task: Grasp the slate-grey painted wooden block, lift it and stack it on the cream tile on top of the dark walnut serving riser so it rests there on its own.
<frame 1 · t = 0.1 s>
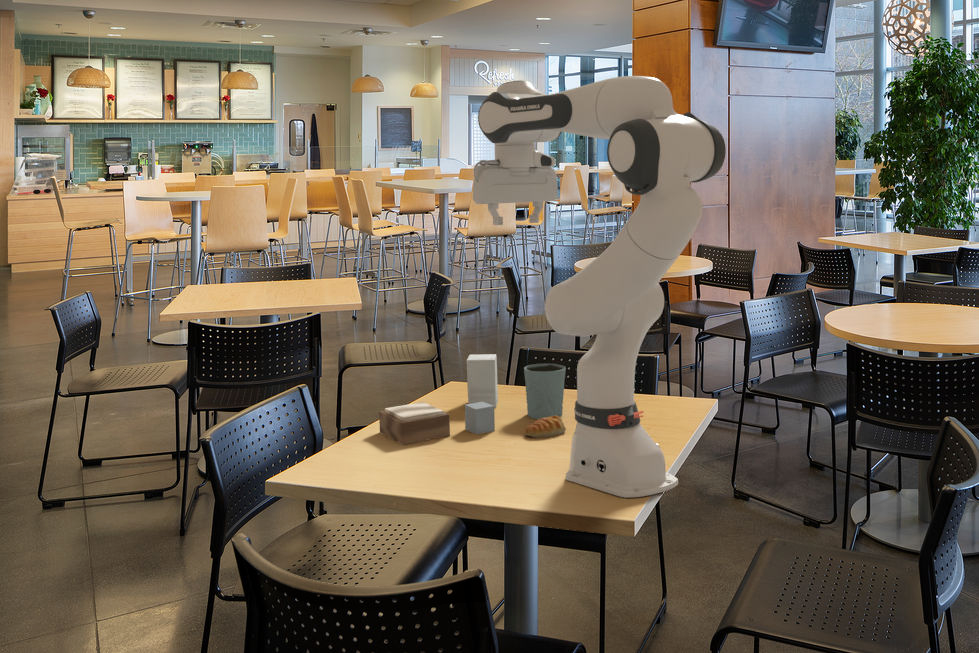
hand: (516, 224, 195), 48 cm above the table, fingers open, 8 cm apart
pastry: (546, 435, 204), on the table
slate block: (479, 430, 208), on the table
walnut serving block: (414, 433, 206), on the table
teal cup: (545, 415, 220), on the table
supplement box: (483, 405, 232), on the table
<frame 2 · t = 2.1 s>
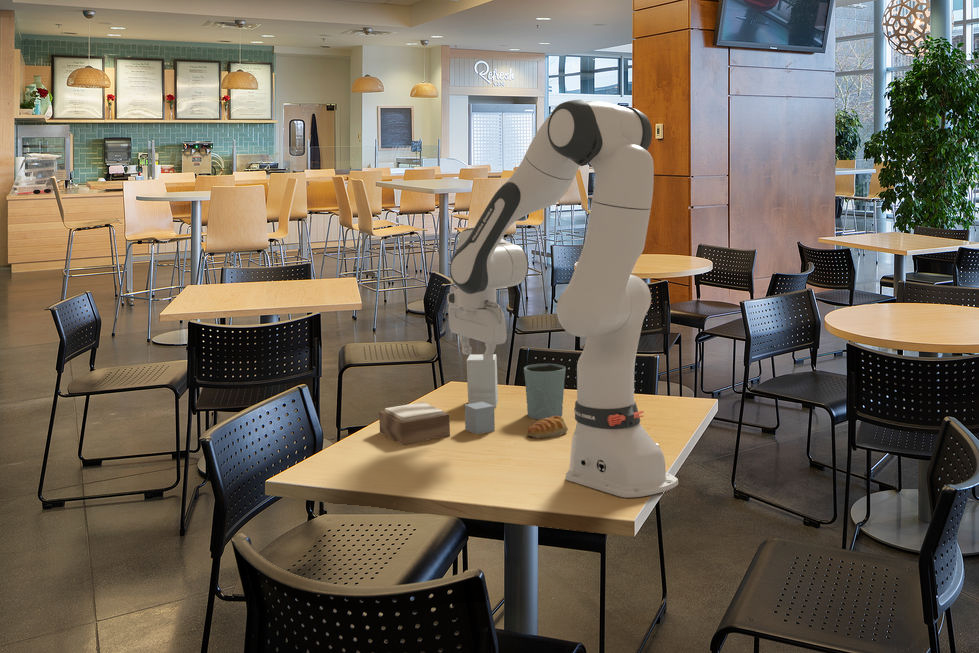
hand: (477, 357, 205), 17 cm above the table, fingers open, 8 cm apart
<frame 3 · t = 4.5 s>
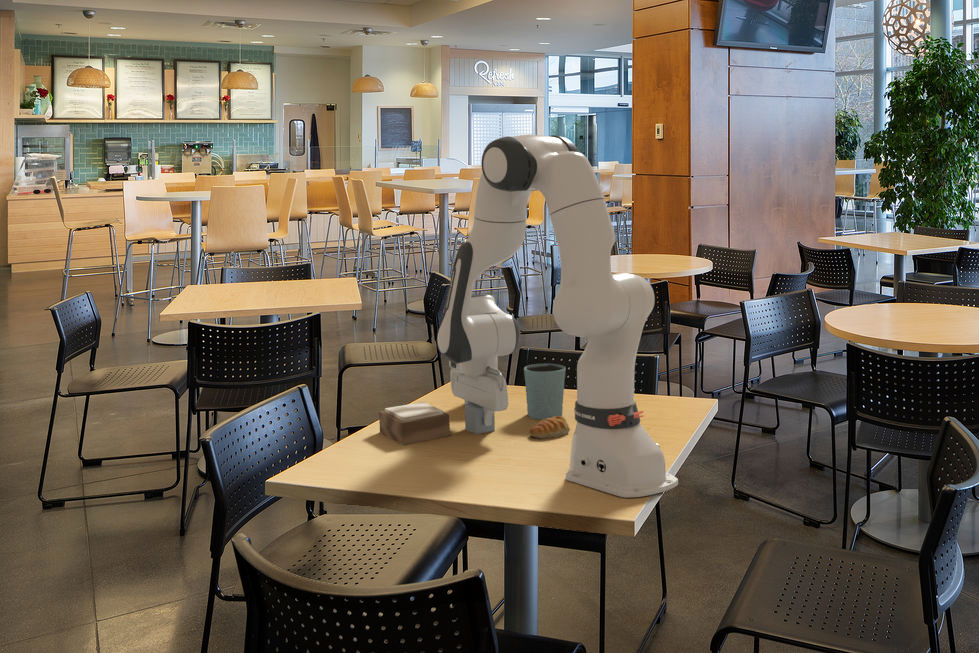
hand: (479, 422, 208), 2 cm above the table, fingers closed on slate block, 5 cm apart
slate block: (480, 430, 208), on the table, touching gripper
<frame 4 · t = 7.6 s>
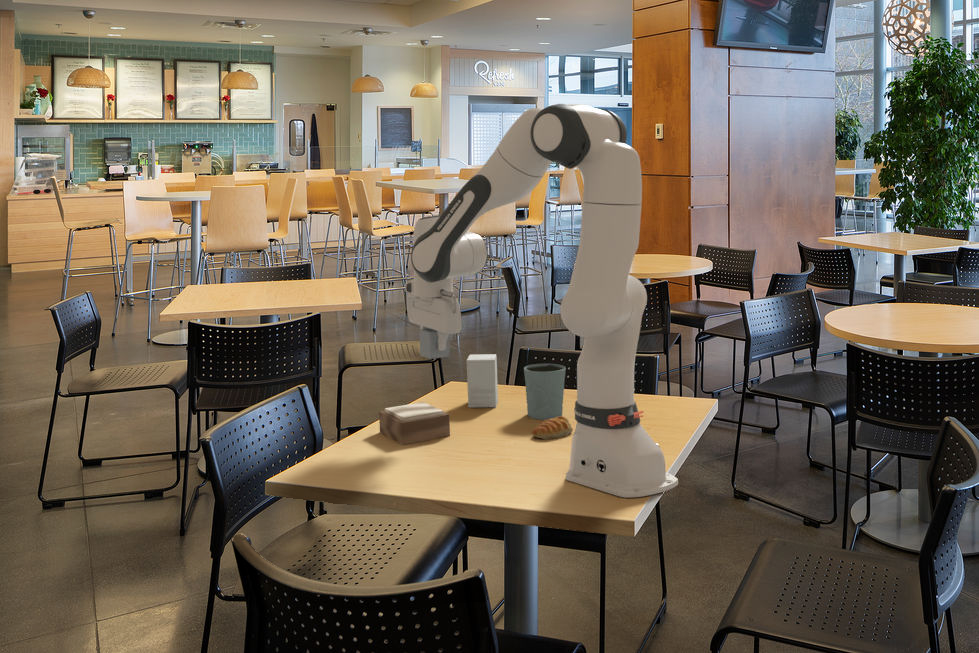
hand: (434, 347, 204), 20 cm above the table, fingers closed on slate block, 5 cm apart
slate block: (434, 355, 204), point 18 cm above the table, touching gripper
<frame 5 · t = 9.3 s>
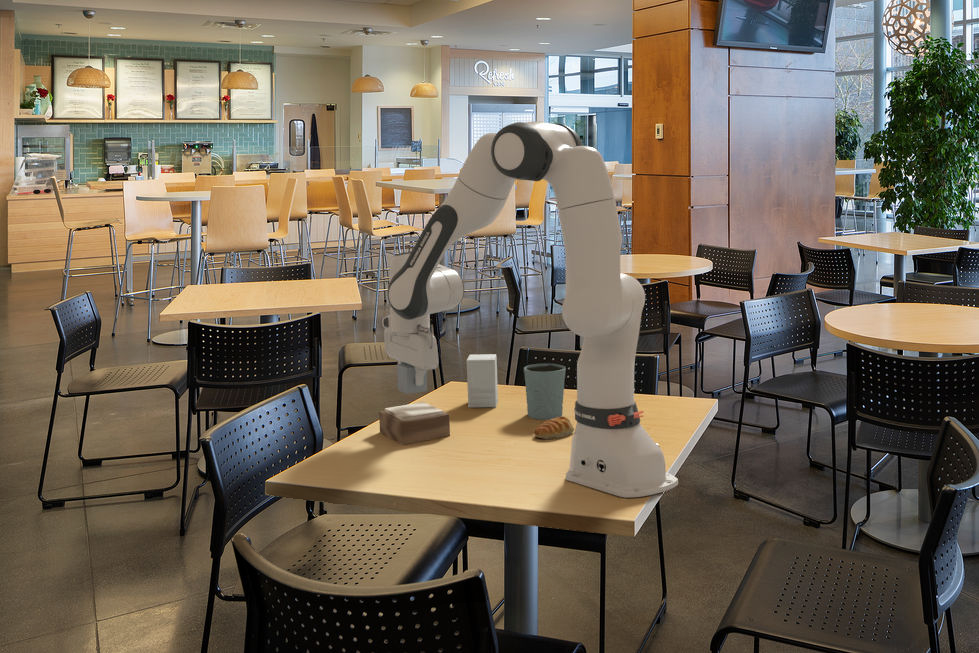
hand: (412, 382, 204), 12 cm above the table, fingers closed on slate block, 5 cm apart
slate block: (412, 390, 204), point 10 cm above the table, touching gripper
when the fingers open (9 cm above the table, at t = 10.7 s): slate block drops 2 cm, resting on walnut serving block.
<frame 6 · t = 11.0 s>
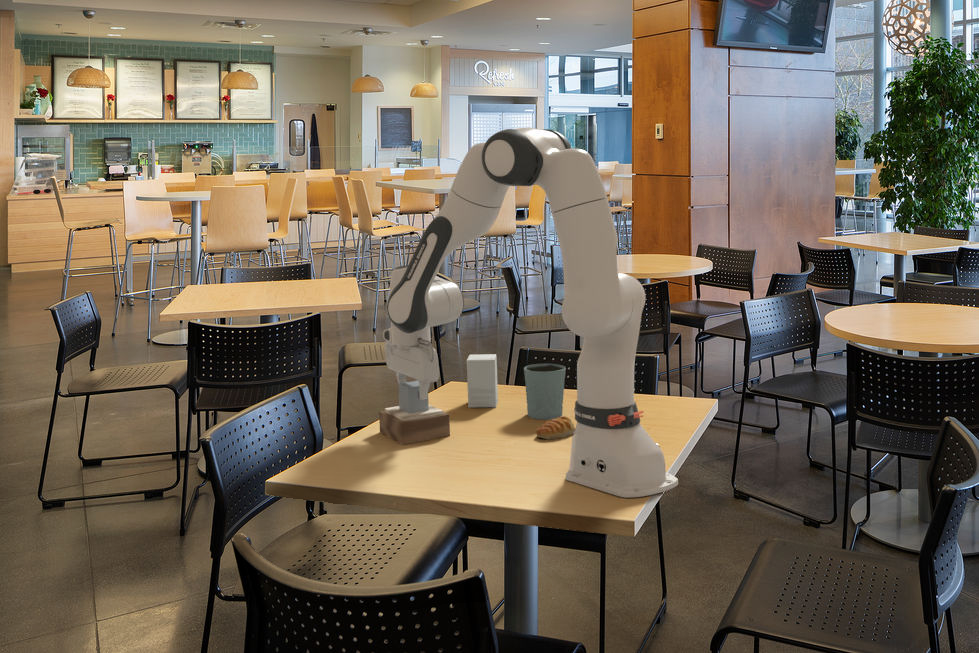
hand: (413, 394, 204), 9 cm above the table, fingers open, 8 cm apart
slate block: (414, 409, 205), point 6 cm above the table, touching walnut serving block
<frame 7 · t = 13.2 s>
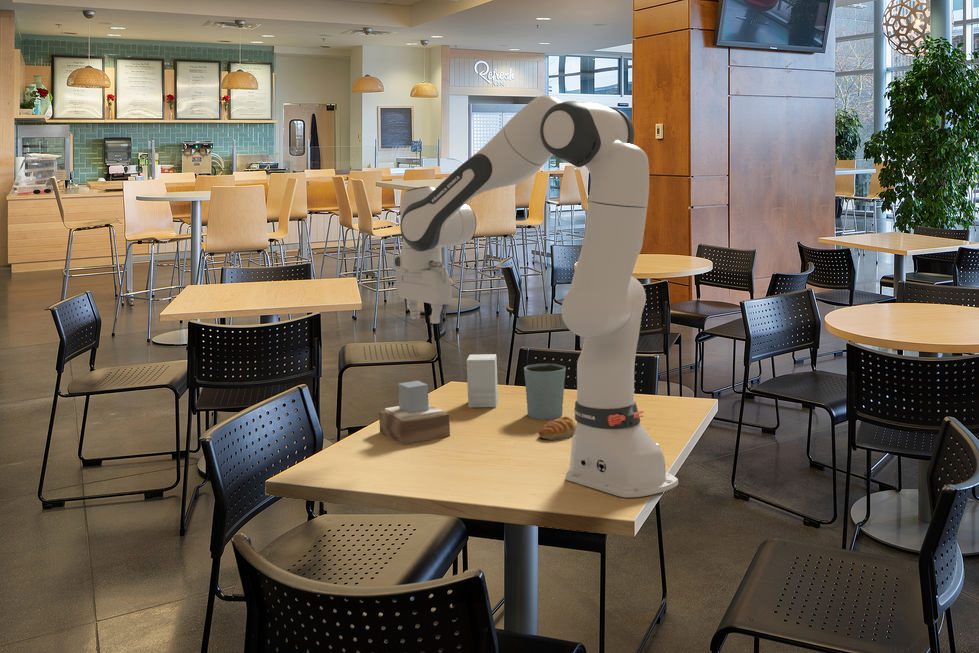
hand: (425, 320, 202), 26 cm above the table, fingers open, 8 cm apart
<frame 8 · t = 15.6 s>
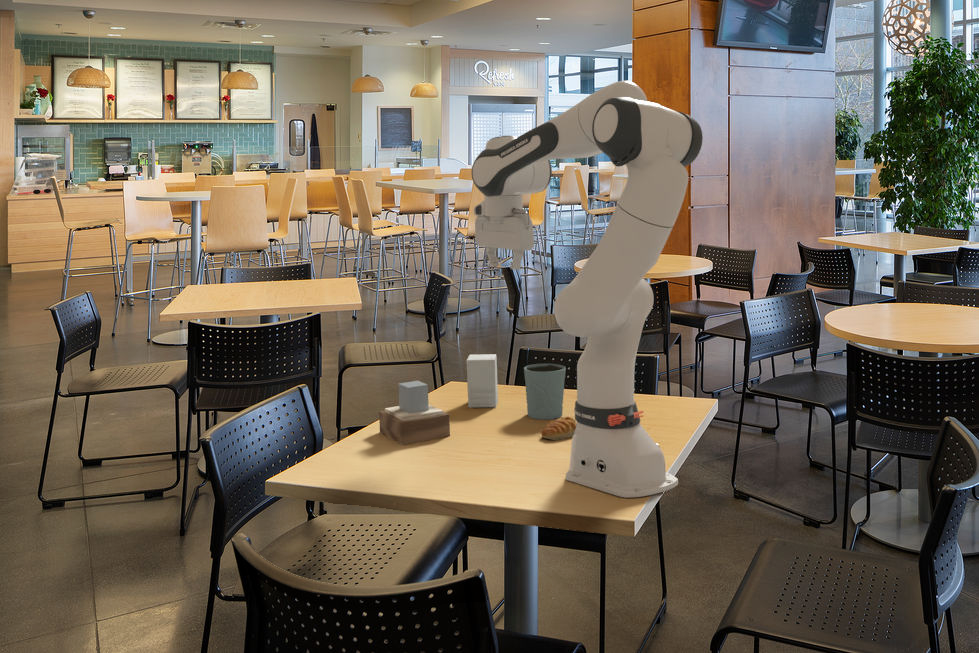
hand: (504, 267, 208), 37 cm above the table, fingers open, 8 cm apart
at the end: slate block inside the target area on the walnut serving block (0.1 cm from its centre), point 5.8 cm above the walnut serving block's base; slate block tilted 0°; the gripper is holding nothing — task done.
